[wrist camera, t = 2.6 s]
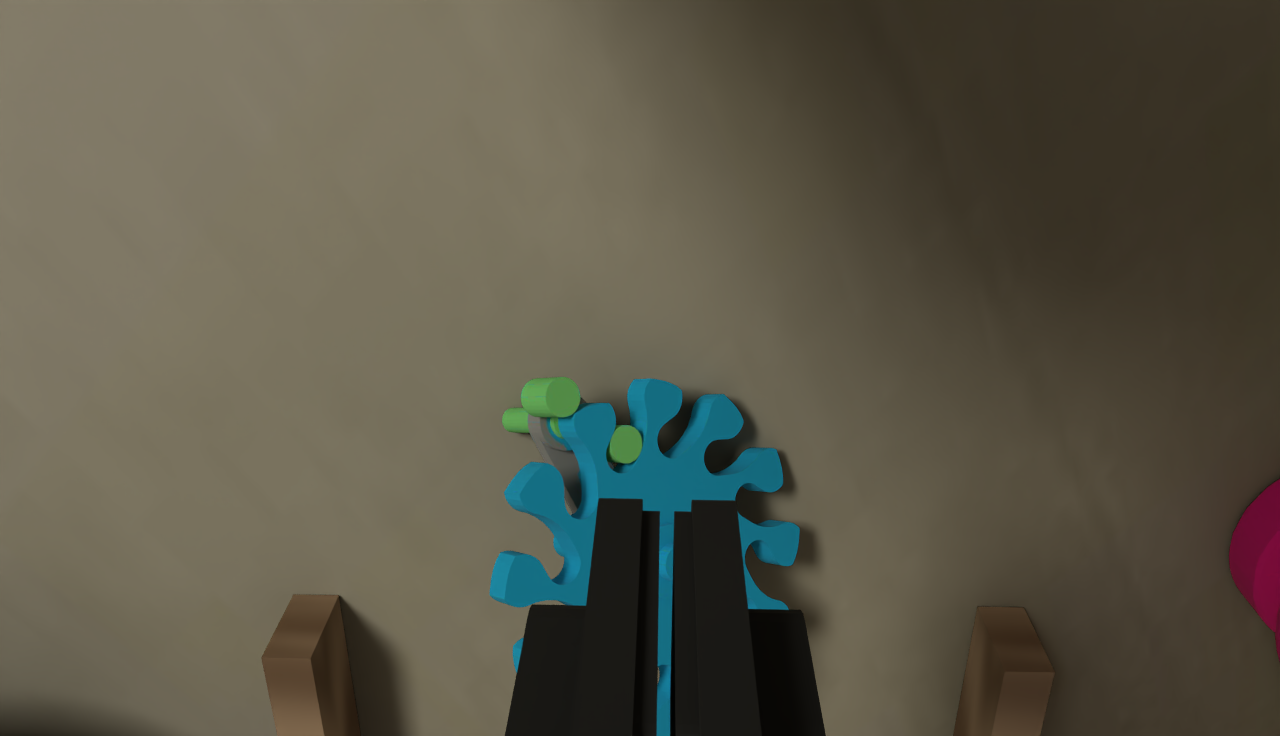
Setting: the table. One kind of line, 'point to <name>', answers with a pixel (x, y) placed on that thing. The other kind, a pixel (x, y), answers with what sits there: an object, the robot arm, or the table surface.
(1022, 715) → the frame
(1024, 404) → the table surface
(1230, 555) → the pepper mill
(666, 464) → the gear
